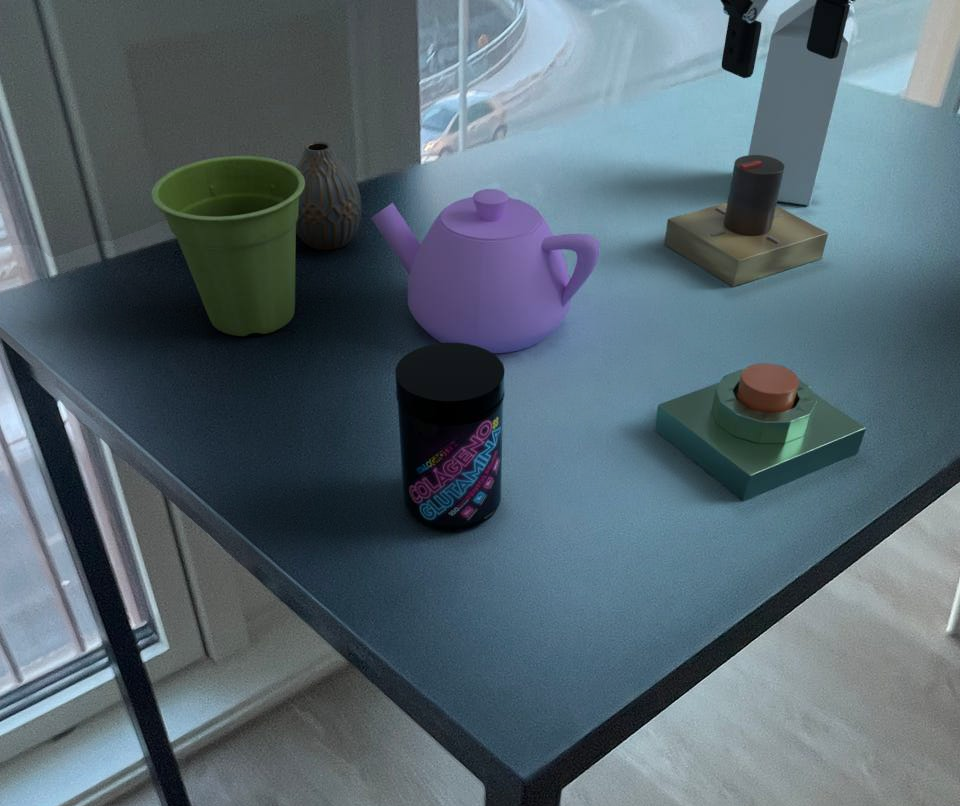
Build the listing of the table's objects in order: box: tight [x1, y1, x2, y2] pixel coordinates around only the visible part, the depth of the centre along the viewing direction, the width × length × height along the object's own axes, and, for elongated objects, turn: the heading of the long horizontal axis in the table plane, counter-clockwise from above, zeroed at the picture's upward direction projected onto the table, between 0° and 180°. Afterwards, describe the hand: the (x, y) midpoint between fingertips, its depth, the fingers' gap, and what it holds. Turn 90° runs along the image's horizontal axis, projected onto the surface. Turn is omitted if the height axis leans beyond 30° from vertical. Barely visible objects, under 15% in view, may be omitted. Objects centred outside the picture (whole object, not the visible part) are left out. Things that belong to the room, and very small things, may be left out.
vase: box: [294, 140, 362, 251], centre depth 94 cm, size 7×7×9 cm
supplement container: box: [394, 342, 506, 533], centre depth 65 cm, size 7×7×10 cm
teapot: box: [370, 188, 601, 354], centre depth 83 cm, size 14×20×11 cm
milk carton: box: [748, 0, 856, 206], centre depth 99 cm, size 7×7×19 cm
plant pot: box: [150, 155, 305, 337], centre depth 83 cm, size 12×12×11 cm
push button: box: [737, 362, 800, 413], centre depth 71 cm, size 4×4×2 cm
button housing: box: [654, 368, 867, 502], centre depth 73 cm, size 11×10×4 cm
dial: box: [724, 155, 784, 235], centre depth 92 cm, size 4×4×6 cm
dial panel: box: [663, 202, 829, 288], centre depth 95 cm, size 11×10×3 cm
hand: (779, 63), depth 84 cm, fingers open, 9 cm apart
